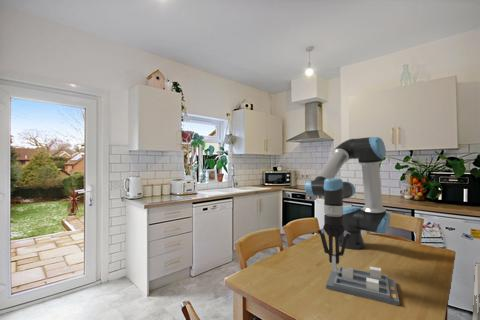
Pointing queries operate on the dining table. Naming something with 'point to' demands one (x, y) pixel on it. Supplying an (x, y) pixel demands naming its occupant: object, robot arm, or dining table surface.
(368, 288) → the tab
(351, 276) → the tab
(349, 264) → the dining table surface
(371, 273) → the tab
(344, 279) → the switch board
